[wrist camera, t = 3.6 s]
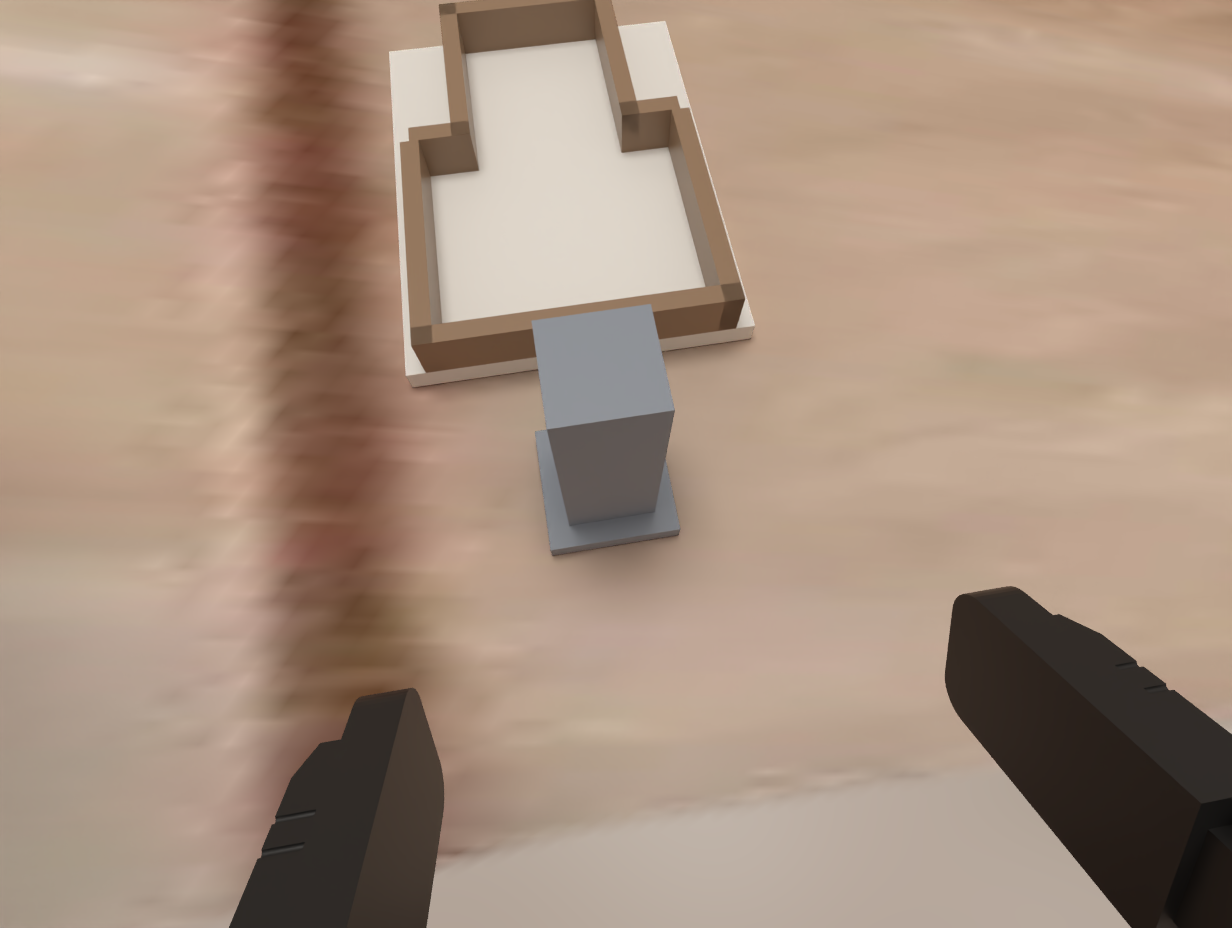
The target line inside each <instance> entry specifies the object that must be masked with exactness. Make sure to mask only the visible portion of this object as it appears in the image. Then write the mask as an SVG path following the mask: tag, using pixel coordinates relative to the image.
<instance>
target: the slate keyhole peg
mask: <svg viewBox="0 0 1232 928" xmlns="http://www.w3.org/2000/svg"><path fill="white" fill-rule="evenodd" d="M532 328H533V335H534V343H535V350H536V357H537V364H538V371H539V378H540V385H541V392H542V400H543V407H544V414H545V421H546V428H547V430H542V431H535V436H536V444H537V451H538V459H539V467H540V474H541V482H542V489H543V497H544V504H545V512H546V519H547V527H548V534H549V542H550V550H551V553H552V555H559V554H565V553H571V552H577V551H583V550H589V549H595V548H602V547H608V546H614V545H620V544H626V543H632V542H638V541H644V540H651V539H657V538H663V537H669V536H675V535H678V534H679V532H680V525H679V521H678V516H677V511H676V506H675V502H674V497H673V492H672V488H671V483H670V478H669V474H668V469H667V464H666V459H665V458H666V452H667V447H668V442H669V437H670V432H671V427H672V422H673V417H674V412H675V409H674V405H673V400H672V396H671V391H670V387H669V382H668V378H667V373H666V369H665V365H664V360H663V356H662V351H661V347H660V342H659V338H658V334H657V329H656V325H655V320H654V316H653V311H652V307H651V304H647V305H640V306H633V307H625V308H618V309H611V310H604V311H597V312H590V313H582V314H575V315H568V316H561V317H554V318H547V319H539V320H532Z"/></svg>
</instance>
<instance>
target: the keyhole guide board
mask: <svg viewBox="0 0 1232 928" xmlns="http://www.w3.org/2000/svg"><path fill="white" fill-rule="evenodd" d="M439 12H440V22H441V32H442V43H443V46H436V47H427V48H418V49H409V50H400V51H391V52H389V56H390V76H391V95H392V115H393V135H394V154H395V174H396V194H397V213H398V233H399V252H400V272H401V292H402V311H403V331H404V350H405V370H406V377H407V379H408V380H409V382H410V384H411V385H412V387H419V386H426V385H433V384H440V383H447V382H454V381H461V380H468V379H475V378H481V377H488V376H495V375H502V374H509V373H516V372H523V371H530V370H537V369H538V364H537V357H536V350H535V343H534V335H533V328H532V320H539V319H547V318H554V317H561V316H568V315H575V314H582V313H590V312H597V311H604V310H611V309H618V308H625V307H633V306H640V305H647V304H651V307H652V311H653V316H654V320H655V325H656V329H657V334H658V338H659V342H660V347H661V351H668V350H675V349H682V348H689V347H696V346H703V345H710V344H717V343H723V342H730V341H737V340H744V339H750V338H751V335H752V333H753V330H754V327H755V324H754V321H753V317H752V314H751V311H750V307H749V304H748V300H747V297H746V294H745V290H744V287H743V283H742V280H741V277H740V273H739V270H738V267H737V263H736V260H735V256H734V253H733V250H732V246H731V243H730V239H729V236H728V233H727V229H726V226H725V222H724V219H723V216H722V212H721V209H720V205H719V202H718V199H717V195H716V192H715V188H714V185H713V182H712V178H711V175H710V171H709V168H708V165H707V161H706V158H705V154H704V151H703V148H702V144H701V141H700V137H699V134H698V131H697V127H696V124H695V120H694V117H693V114H692V110H691V107H690V104H689V100H688V97H687V93H686V90H685V87H684V83H683V80H682V76H681V73H680V70H679V66H678V63H677V59H676V56H675V53H674V49H673V46H672V42H671V39H670V36H669V32H668V29H667V25H666V22H665V21H661V22H652V23H643V24H634V25H625V26H618V25H617V21H616V17H615V13H614V9H613V5H612V1H611V0H477V1H467V2H458V3H448V4H439Z"/></svg>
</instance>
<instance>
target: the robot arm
mask: <svg viewBox="0 0 1232 928" xmlns="http://www.w3.org/2000/svg"><path fill="white" fill-rule="evenodd" d="M945 683H946V688H947V692H948V695H949V698H950V701H951V703H952V705H953V707H954V709H955V711H956V713H957V714H958V716H959V717H960V719H961V720H962V721H963V722H964V724H965V725H966V726H967V727H968V728H969V730H970V731H971V732H972V733H973V735H974V736H975V737H976V738H977V739H978V741H979V742H980V743H981V744H982V746H983V747H984V748H985V749H986V750H987V752H988V753H989V754H990V755H991V757H992V758H993V759H994V760H995V761H996V763H997V764H998V765H999V766H1000V768H1001V769H1002V770H1003V771H1004V772H1005V774H1006V775H1007V776H1008V777H1009V779H1010V780H1011V781H1012V782H1013V783H1014V785H1015V786H1016V787H1017V788H1018V789H1019V791H1020V792H1021V793H1022V794H1023V796H1024V797H1025V798H1026V799H1027V801H1028V802H1029V803H1030V804H1031V806H1032V807H1033V808H1034V809H1035V810H1036V812H1037V813H1038V814H1039V815H1040V816H1041V818H1042V819H1043V820H1044V821H1045V823H1046V824H1047V825H1048V826H1049V827H1050V829H1051V830H1052V831H1053V832H1054V834H1055V835H1056V836H1057V837H1058V838H1059V840H1060V841H1061V842H1062V843H1063V845H1064V846H1065V847H1066V848H1067V849H1068V851H1069V852H1070V853H1071V854H1072V855H1073V857H1074V858H1075V859H1076V861H1077V862H1078V863H1079V864H1080V865H1081V867H1082V868H1083V869H1084V870H1085V872H1086V873H1087V874H1088V875H1089V876H1090V877H1091V879H1092V880H1093V881H1094V882H1095V884H1096V885H1097V886H1098V887H1099V889H1100V890H1101V891H1102V892H1103V893H1104V895H1105V896H1106V897H1107V898H1108V900H1109V901H1110V902H1111V903H1112V905H1113V906H1114V907H1115V908H1116V909H1117V911H1118V912H1119V913H1120V914H1121V915H1122V917H1123V918H1124V919H1125V920H1126V922H1127V923H1128V924H1129V925H1130V927H1131V928H1232V734H1231V733H1229V732H1228V731H1227V730H1225V729H1224V728H1223V727H1221V726H1220V725H1219V724H1218V723H1216V722H1215V721H1214V720H1212V719H1211V718H1210V717H1208V716H1207V715H1206V714H1205V713H1203V712H1202V711H1201V710H1199V709H1198V708H1197V707H1195V706H1194V705H1193V704H1192V703H1190V702H1189V701H1188V700H1186V699H1185V698H1184V697H1182V696H1181V695H1180V694H1179V693H1177V692H1176V691H1175V690H1168V689H1167V687H1166V683H1164V682H1163V681H1162V680H1160V679H1159V678H1158V677H1157V676H1155V675H1154V674H1153V673H1151V672H1150V671H1149V670H1147V669H1146V668H1145V667H1139V666H1138V665H1137V661H1136V660H1134V659H1133V658H1132V657H1131V656H1129V655H1128V654H1127V653H1125V652H1124V651H1123V650H1121V649H1120V648H1119V647H1118V646H1116V645H1115V644H1114V643H1112V642H1111V641H1110V640H1109V639H1107V638H1106V637H1105V636H1103V635H1102V634H1100V633H1098V632H1096V631H1094V630H1092V629H1089V628H1087V627H1085V626H1083V625H1081V624H1079V623H1077V622H1075V621H1072V620H1070V619H1068V618H1066V617H1064V616H1062V615H1060V614H1058V615H1052V614H1051V613H1049V612H1048V611H1047V610H1046V609H1045V608H1043V607H1042V606H1041V605H1040V604H1038V603H1037V602H1036V601H1035V600H1033V599H1032V598H1031V597H1030V596H1028V595H1027V594H1026V593H1025V592H1023V591H1022V590H1020V589H1018V588H1016V587H1012V586H1007V587H1001V588H996V589H990V590H984V591H978V592H973V593H967V594H962V595H959V596H958V597H957V598H956V600H955V601H954V604H953V609H952V618H951V626H950V635H949V643H948V652H947V660H946V668H945ZM443 810H444V782H443V774H442V768H441V764H440V760H439V757H438V754H437V751H436V747H435V744H434V741H433V738H432V735H431V731H430V728H429V725H428V722H427V719H426V715H425V712H424V709H423V706H422V702H421V699H420V697H419V694H418V692H417V691H416V689H414V688H408V689H402V690H397V691H391V692H385V693H379V694H373V695H368V696H362V697H359V698H358V699H357V700H356V702H355V703H354V706H353V708H352V711H351V714H350V716H349V719H348V722H347V725H346V728H345V730H344V733H343V736H342V739H341V740H336V741H330V742H324V743H320V744H319V745H318V747H317V748H316V749H315V750H314V751H313V753H312V754H311V755H310V756H309V757H308V759H307V760H306V761H305V762H304V763H303V765H302V766H301V767H300V768H299V770H298V771H297V772H296V773H295V774H294V776H293V777H292V778H291V780H290V783H289V785H288V787H287V790H286V792H285V795H284V797H283V799H282V802H281V804H280V807H279V809H278V811H277V814H276V816H275V818H276V822H275V824H273V825H272V826H271V828H270V830H269V833H268V835H267V838H266V840H265V842H264V845H263V847H262V856H261V858H259V859H257V862H256V864H255V866H254V869H253V871H252V874H251V876H250V878H249V881H248V883H247V886H246V888H245V890H244V893H243V895H242V898H241V900H240V902H239V905H238V907H237V910H236V912H235V914H234V917H233V919H232V922H231V924H230V926H229V928H426V926H427V919H428V912H429V906H430V899H431V892H432V885H433V878H434V872H435V865H436V858H437V851H438V845H439V838H440V831H441V824H442V817H443Z"/></svg>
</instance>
